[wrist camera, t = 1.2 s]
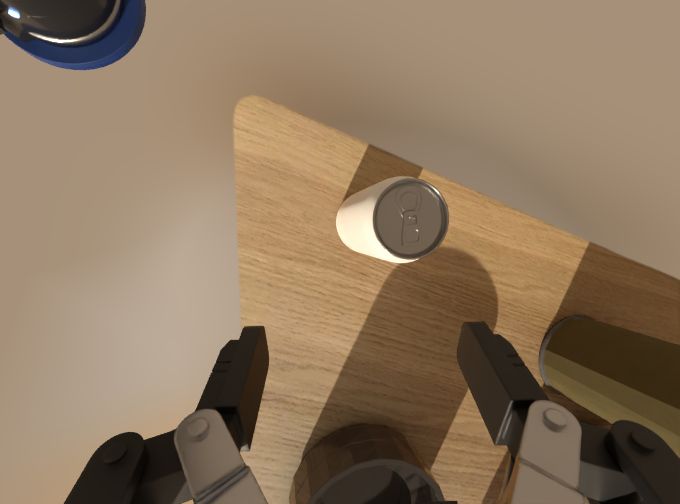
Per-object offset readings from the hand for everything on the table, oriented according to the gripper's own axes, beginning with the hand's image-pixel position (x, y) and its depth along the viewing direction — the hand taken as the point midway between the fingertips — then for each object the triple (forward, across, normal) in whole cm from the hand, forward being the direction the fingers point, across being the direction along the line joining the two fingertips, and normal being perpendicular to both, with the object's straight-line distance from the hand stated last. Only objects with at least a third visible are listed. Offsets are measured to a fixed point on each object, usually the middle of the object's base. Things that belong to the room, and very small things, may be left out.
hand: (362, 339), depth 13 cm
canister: (+19, -29, +22) cm, 41 cm away
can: (+22, -2, +4) cm, 22 cm away
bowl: (+9, -1, +31) cm, 32 cm away
